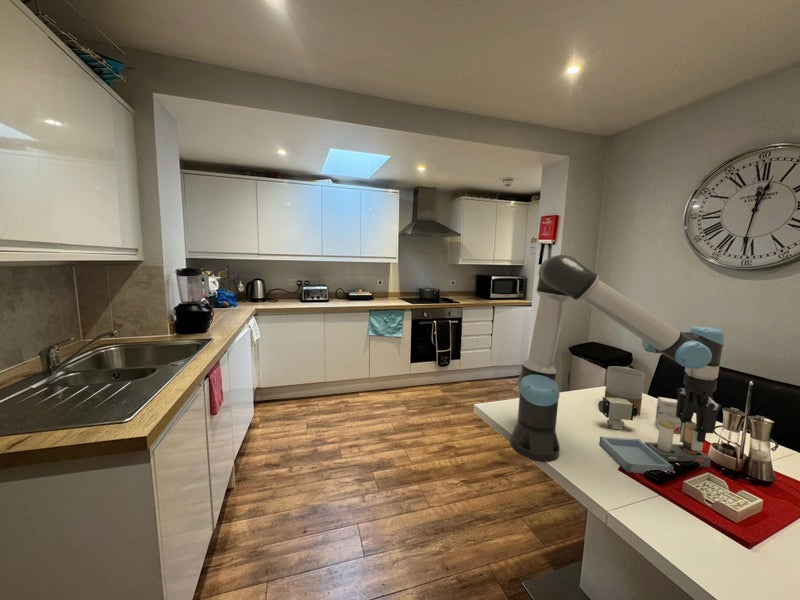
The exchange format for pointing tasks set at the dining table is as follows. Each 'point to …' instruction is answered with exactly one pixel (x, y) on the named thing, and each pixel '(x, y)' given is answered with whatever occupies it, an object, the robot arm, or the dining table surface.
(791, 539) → the dining table surface
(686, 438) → the fuse
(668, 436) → the cylinder
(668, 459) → the fuse holder
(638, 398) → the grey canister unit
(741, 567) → the dining table surface
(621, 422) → the pneumatic valve
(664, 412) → the ink box
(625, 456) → the parts tray
